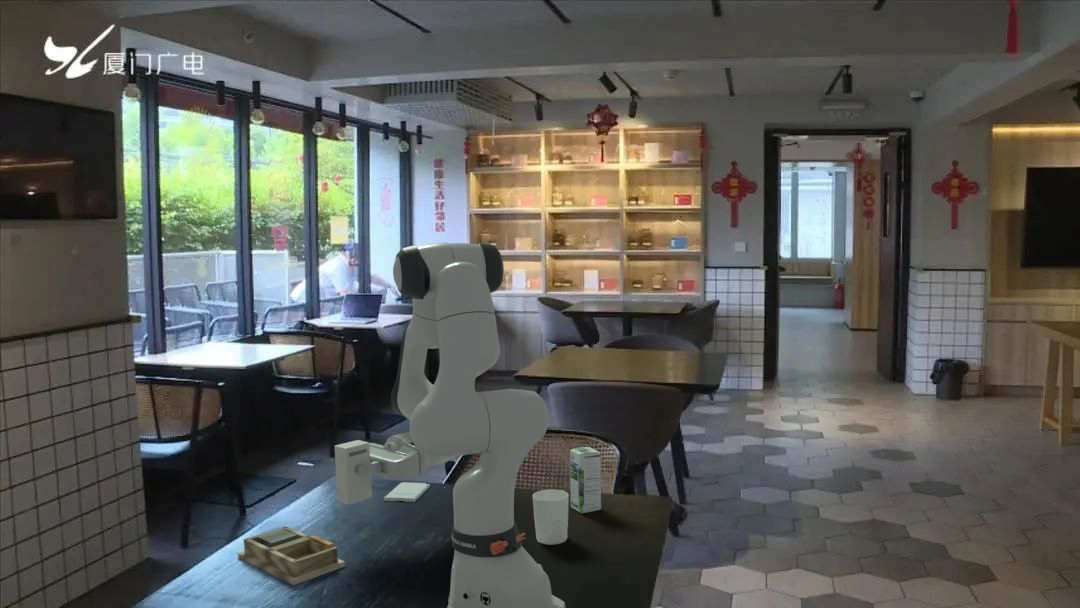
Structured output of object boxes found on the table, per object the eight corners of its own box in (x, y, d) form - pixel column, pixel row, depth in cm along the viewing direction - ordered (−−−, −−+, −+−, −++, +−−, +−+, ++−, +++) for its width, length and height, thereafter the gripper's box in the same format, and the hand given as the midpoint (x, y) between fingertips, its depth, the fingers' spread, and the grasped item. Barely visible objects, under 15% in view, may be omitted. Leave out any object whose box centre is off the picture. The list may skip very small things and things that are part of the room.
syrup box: (569, 507, 210) (568, 448, 209) (591, 503, 213) (589, 445, 211) (580, 514, 205) (579, 454, 204) (602, 510, 208) (601, 451, 206)
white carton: (372, 497, 184) (369, 442, 183) (348, 505, 180) (345, 448, 179) (361, 493, 187) (358, 439, 186) (337, 501, 183) (334, 445, 182)
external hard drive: (430, 489, 230) (414, 504, 218) (400, 488, 232) (383, 503, 219) (429, 483, 230) (414, 497, 218) (400, 482, 231) (383, 496, 219)
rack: (345, 566, 178) (344, 544, 177) (293, 585, 169) (291, 562, 169) (288, 541, 193) (287, 521, 192) (238, 557, 184) (236, 536, 184)
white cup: (527, 542, 188) (526, 498, 187) (544, 530, 195) (542, 487, 194) (559, 548, 184) (558, 502, 183) (575, 535, 191) (574, 491, 190)
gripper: (373, 433, 199) (321, 445, 189) (430, 447, 185) (377, 461, 175) (374, 459, 200) (323, 473, 190) (431, 475, 186) (379, 491, 176)
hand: (349, 468), depth 182 cm, fingers closed on white carton, 4 cm apart
